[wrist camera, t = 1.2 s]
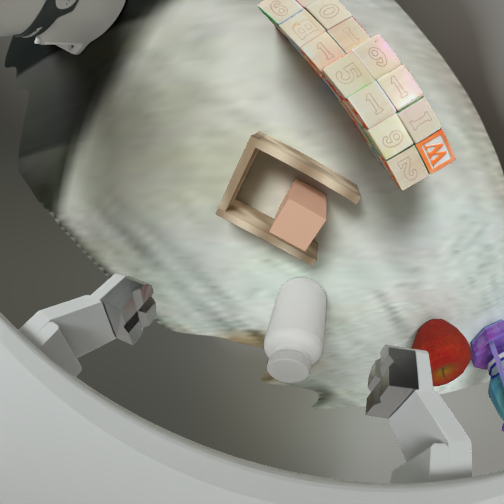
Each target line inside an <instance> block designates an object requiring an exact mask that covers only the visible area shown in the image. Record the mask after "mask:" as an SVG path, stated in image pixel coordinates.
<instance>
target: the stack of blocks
mask: <svg viewBox="0 0 504 504" xmlns="http://www.w3.org/2000/svg"><path fill="white" fill-rule="evenodd" d="M258 7H259V8H260V10H261V11H262V12H263V13H264V14H265V15H266V16H267V17H268V18H269V20H270V21H271V22H272V23H273V24H274V25H275V27H276V28H277V29H278V30H279V31H280V32H281V33H282V34H283V35H284V36H285V37H286V38H287V39H288V40H289V41H290V43H291V44H292V45H293V46H294V47H295V48H296V49H297V51H298V52H299V53H300V54H301V55H302V56H303V57H304V58H305V59H306V61H307V62H308V63H309V64H310V66H311V67H312V68H313V69H314V70H315V72H316V73H317V74H318V75H319V76H320V78H321V79H323V81H324V82H325V83H326V84H327V86H328V87H329V88H330V89H331V91H332V92H333V94H334V95H335V96H336V98H337V99H338V100H339V101H340V103H341V104H342V106H343V107H344V108H345V110H346V111H347V113H348V114H349V115H350V117H351V118H352V121H353V122H354V124H355V125H356V127H357V128H358V130H359V131H360V133H361V134H362V136H363V137H364V139H365V141H366V143H367V144H368V146H369V147H370V149H371V151H372V152H373V154H374V156H375V157H376V159H377V161H378V162H379V163H380V164H381V165H382V166H383V167H384V168H385V169H386V171H387V172H388V174H389V175H390V176H391V178H392V179H393V180H394V181H395V182H396V184H397V185H398V186H399V188H400V189H401V190H402V191H403V190H405V189H407V188H409V187H410V186H412V185H414V184H416V183H417V182H419V181H421V180H423V179H425V178H426V177H428V176H429V174H432V173H434V172H436V171H438V170H439V169H441V168H443V167H444V166H446V165H448V164H449V163H451V162H453V161H454V160H455V159H456V158H455V155H454V153H453V151H452V149H451V146H450V144H449V142H448V140H447V138H446V136H445V134H444V132H443V130H442V129H441V124H440V122H439V121H438V119H437V117H436V115H435V113H434V112H433V110H432V108H431V106H430V105H429V103H428V101H427V100H426V98H425V97H424V96H423V92H422V91H421V89H420V87H419V86H418V84H417V83H416V81H415V80H414V78H413V77H412V75H411V74H410V72H409V71H408V70H407V68H406V67H405V66H404V65H403V64H402V62H401V60H400V59H399V58H398V56H397V55H396V54H395V53H394V51H393V50H392V49H391V47H390V46H389V45H388V44H387V42H386V41H385V40H384V39H383V38H382V36H381V35H380V34H378V35H376V36H374V37H372V38H371V37H370V36H369V35H368V34H367V32H366V31H365V30H364V29H363V28H362V27H361V26H360V24H359V23H358V22H357V21H356V20H355V19H354V18H353V16H352V14H351V13H350V12H349V11H348V10H347V9H346V8H345V7H344V6H343V5H342V4H341V3H340V2H339V1H338V0H264V1H263V2H261V3H260V4H258Z"/></svg>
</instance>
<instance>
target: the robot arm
mask: <svg viewBox="0 0 504 504" xmlns="http://www.w3.org/2000/svg"><path fill="white" fill-rule="evenodd" d="M125 1H126V0H0V37H1V36H6V35H14V36H15V37H31V36H36V39H35V43H37V44H42V45H48V44H55V45H57V46H58V47H60V48H62V49H64V50H66V51H68V52H70V53H72V54H75V55H78V54H80V53H81V52H82V51H83V50H84V49H85V47H86V46H87V45H88V44H89V43H90V42H91V41H93V40H95V39H96V38H98V37H99V36H101V35H102V34H103V33H104V32H105V31H106V30H107V29H108V28H109V27H110V26H111V25H112V24H113V23H114V21H115V20H116V18H117V17H118V15H119V14H120V12H121V10H122V8H123V6H124V4H125ZM152 294H153V289H152V285H150V284H148V283H145V282H143V281H140V280H137V279H135V278H132V277H129V276H126V275H124V274H121V273H116V274H114V275H113V276H112V277H111V278H110V279H108V280H107V281H106V282H105V283H104V284H103V285H102V286H101V287H99V288H98V289H97V290H96V291H95V292H94V293H93V294H92V295H90V296H89V295H86V296H82V297H79V298H77V299H73V300H70V301H68V302H64V303H62V304H58V305H55V306H52V307H49V308H46V309H43V310H40V311H38V312H37V313H36V314H35V315H34V316H33V317H32V318H31V319H30V320H28V321H27V322H26V323H25V324H24V325H23V326H22V327H21V328H20V329H19V330H17V329H16V328H15V327H14V326H13V325H12V324H11V323H10V322H9V321H8V320H7V319H6V318H5V317H4V316H3V315H2V314H1V313H0V504H504V470H502V471H498V472H494V473H490V474H485V475H480V476H474V477H472V452H471V440H470V439H469V437H468V436H467V434H466V433H465V431H464V430H463V428H462V427H461V425H460V424H459V422H458V421H457V420H456V418H455V416H454V415H453V414H452V412H451V411H450V409H449V408H448V406H447V405H446V404H445V402H444V401H443V399H442V398H441V397H440V395H439V394H438V392H434V391H433V382H432V374H431V367H430V360H429V353H428V352H427V351H424V350H417V349H411V348H404V347H398V346H392V345H385V346H384V347H383V349H382V351H381V358H380V359H378V360H376V361H375V363H374V364H373V366H372V369H371V372H370V375H369V380H368V388H369V390H370V391H371V393H370V395H369V396H368V397H367V405H366V415H369V416H375V417H382V418H389V419H388V420H389V423H390V425H391V427H392V429H393V432H394V434H395V436H396V438H397V441H398V443H399V445H400V447H401V450H402V452H403V454H404V457H405V459H406V461H407V462H406V463H404V464H403V465H401V466H399V467H398V468H396V469H395V470H394V471H392V475H391V481H390V483H375V482H374V483H373V482H359V481H348V480H338V479H331V478H324V477H317V476H311V475H306V474H300V473H295V472H290V471H286V470H281V469H277V468H273V467H269V466H265V465H261V464H257V463H254V462H251V461H247V460H244V459H240V458H237V457H234V456H231V455H228V454H225V453H222V452H219V451H217V450H214V449H211V448H208V447H205V446H203V445H201V444H198V443H196V442H193V441H191V440H188V439H185V438H183V437H181V436H179V435H176V434H174V433H172V432H169V431H168V430H166V429H163V428H161V427H159V426H157V425H155V424H153V423H151V422H149V421H147V420H145V419H143V418H141V417H140V416H137V415H136V414H134V413H132V412H130V411H128V410H127V409H125V408H123V407H121V406H120V405H118V404H116V403H115V402H113V401H111V400H110V399H108V398H106V397H105V396H103V395H101V394H100V393H98V392H97V391H95V390H94V389H92V388H90V387H89V386H88V385H86V384H85V383H83V382H82V381H80V380H79V379H77V378H76V376H77V375H78V374H79V373H80V371H81V370H82V369H81V368H82V367H81V365H80V363H79V362H78V360H77V359H76V358H78V357H80V356H82V355H84V354H86V353H88V352H90V351H92V350H94V349H96V348H98V347H100V346H102V345H104V344H106V343H108V342H110V341H112V340H114V339H115V337H116V338H118V339H121V340H122V341H125V342H127V343H129V344H131V345H133V344H134V343H135V342H136V341H137V340H138V338H139V337H140V336H141V335H142V333H143V328H144V327H146V326H149V325H150V324H151V322H152V321H153V320H154V317H155V315H156V302H155V301H154V299H153V298H152V297H151V296H152Z"/></svg>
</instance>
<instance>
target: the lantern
mask: <svg viewBox="0 0 504 504" xmlns="http://www.w3.org/2000/svg"><path fill="white" fill-rule="evenodd" d="M471 359H472V363H473V365H474V367H477V368H481V369H485V370H486V369H487V370H488V371H489V375H490V376H491V378H490V384H489V389H488V394H489V397H490V399H491V400H492V402H493V404H494V406H495V408H496V410H497V412H498V414H499V415H500V417H501V418H502V420H503V421H504V321H503V320H500V321H498V322H496V323H493V324H491V325H489V326H487V327H485V328H484V329H483V330H482V331H481V332H480V333H479V334H478V335H477V337H476V338H475V339H474V340H473V341H472V345H471ZM502 431H504V424H503V426H502Z"/></svg>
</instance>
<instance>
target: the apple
mask: <svg viewBox="0 0 504 504" xmlns="http://www.w3.org/2000/svg"><path fill="white" fill-rule="evenodd" d="M412 349H417V350H424V351H427V352H428V353H429V360H430V367H431V374H432V382H433V386H440V385H444V384H447V383H449V382H451V381H453V380H454V379H456V378H457V377H458V376H460V375H461V374H462V373H463V372H464V370H465V368H466V367H467V365H468V363H469V362H470V360H471V351H470V347H469V344H468V342H467V340H466V338H465V337H464V336H463V335H462V333H461V332H460V331H459V330H458V329H457V328H456V327H454V326H453V325H451V324H450V323H448V322H447V321H445V320H442V319H432V320H429V321H428V322H426V323H425V324H424V325H422V326H421V327H420V329H419V330H418V331H417V334H416V337H415V340H414V343H413V346H412Z"/></svg>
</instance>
